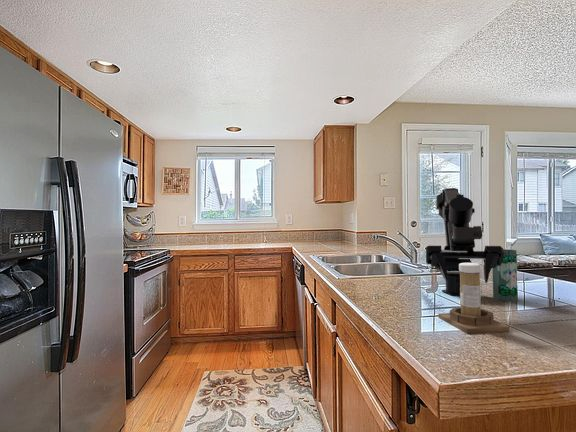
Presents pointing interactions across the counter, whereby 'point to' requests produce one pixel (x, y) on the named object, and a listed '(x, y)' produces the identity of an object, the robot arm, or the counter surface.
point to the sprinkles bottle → (470, 289)
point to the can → (506, 278)
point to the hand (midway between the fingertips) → (466, 281)
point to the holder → (473, 321)
